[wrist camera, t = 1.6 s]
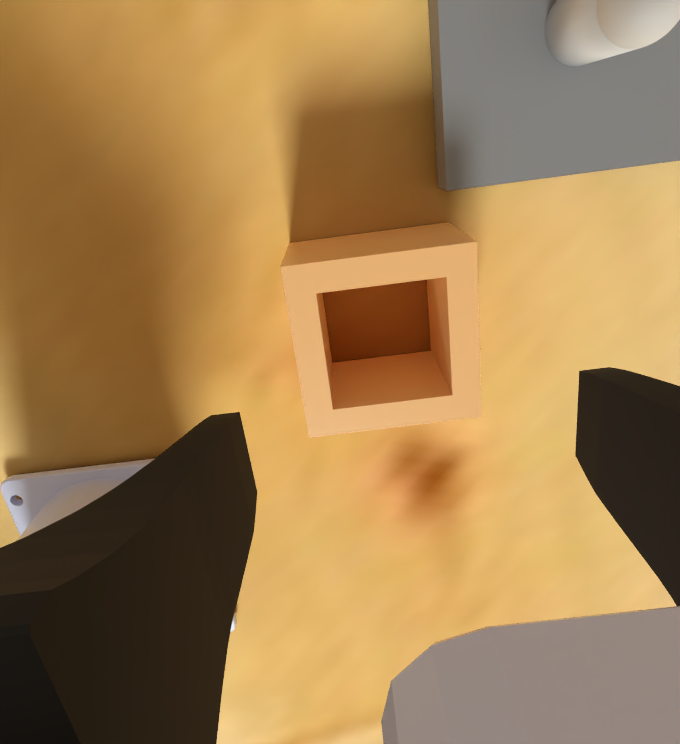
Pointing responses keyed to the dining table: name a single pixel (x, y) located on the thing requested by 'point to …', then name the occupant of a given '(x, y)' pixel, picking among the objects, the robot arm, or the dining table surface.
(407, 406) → the orange loop
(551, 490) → the dining table surface
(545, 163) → the hook board
